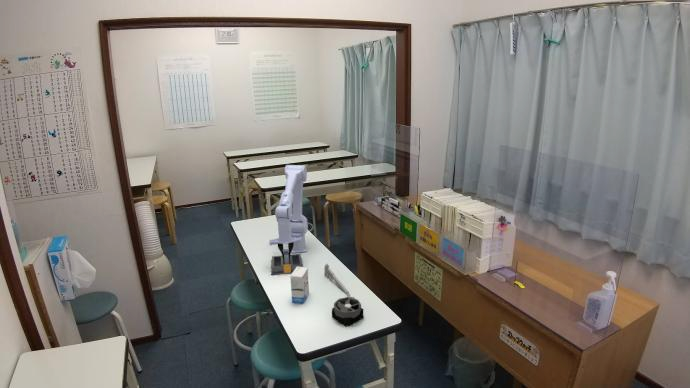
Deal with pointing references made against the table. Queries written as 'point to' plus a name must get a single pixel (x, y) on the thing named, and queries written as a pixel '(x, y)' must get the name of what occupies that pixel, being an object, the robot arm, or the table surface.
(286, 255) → the panel
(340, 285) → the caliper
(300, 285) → the ink box
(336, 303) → the cpu cooler
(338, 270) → the table surface
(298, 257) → the panel rack
